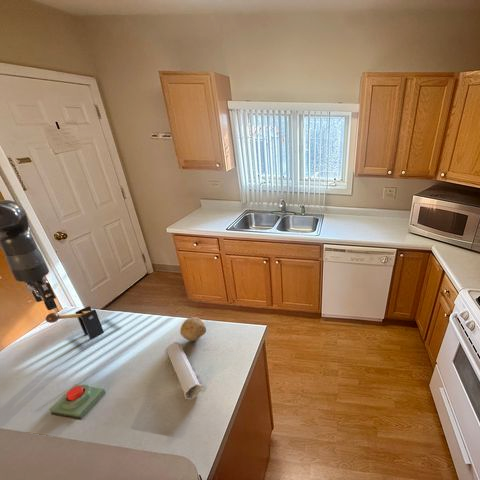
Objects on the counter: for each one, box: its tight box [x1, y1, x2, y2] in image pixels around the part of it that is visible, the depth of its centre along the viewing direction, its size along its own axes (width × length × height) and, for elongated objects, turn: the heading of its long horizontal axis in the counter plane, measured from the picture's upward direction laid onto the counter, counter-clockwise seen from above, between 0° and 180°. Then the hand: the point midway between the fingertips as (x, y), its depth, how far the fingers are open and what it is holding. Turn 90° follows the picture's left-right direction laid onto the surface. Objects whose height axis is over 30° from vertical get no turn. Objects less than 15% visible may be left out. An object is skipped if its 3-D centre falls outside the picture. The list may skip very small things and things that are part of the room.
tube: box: [166, 341, 203, 401], centre depth 90 cm, size 5×5×25 cm
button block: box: [48, 383, 107, 420], centre depth 78 cm, size 10×8×4 cm
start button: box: [65, 386, 84, 401], centre depth 77 cm, size 4×4×2 cm
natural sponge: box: [179, 316, 207, 342], centre depth 103 cm, size 9×9×10 cm
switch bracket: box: [74, 305, 105, 340], centre depth 100 cm, size 12×10×13 cm
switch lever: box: [45, 311, 90, 324], centre depth 94 cm, size 13×3×3 cm
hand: (46, 304), depth 87 cm, fingers open, 8 cm apart
